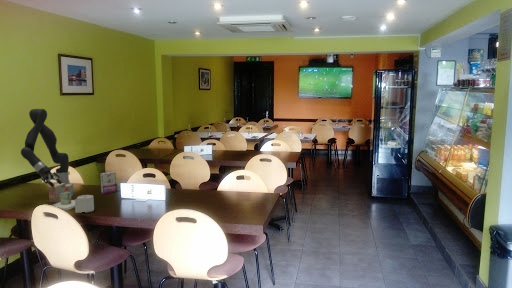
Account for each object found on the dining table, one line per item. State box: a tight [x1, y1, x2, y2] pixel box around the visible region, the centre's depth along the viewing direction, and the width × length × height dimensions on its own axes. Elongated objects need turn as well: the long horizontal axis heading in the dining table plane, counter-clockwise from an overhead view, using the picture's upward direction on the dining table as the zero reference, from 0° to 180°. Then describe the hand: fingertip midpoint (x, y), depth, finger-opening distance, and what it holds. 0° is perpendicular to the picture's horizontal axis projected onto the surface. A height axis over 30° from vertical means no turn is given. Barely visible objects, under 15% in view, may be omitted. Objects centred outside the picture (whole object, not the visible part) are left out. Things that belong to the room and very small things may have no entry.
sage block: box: [60, 192, 72, 205], centre depth 307 cm, size 5×5×8 cm
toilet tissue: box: [74, 194, 95, 214], centre depth 293 cm, size 11×12×10 cm
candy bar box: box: [99, 171, 117, 194], centre depth 347 cm, size 11×5×16 cm, turn 129°
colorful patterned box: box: [47, 182, 75, 203], centre depth 328 cm, size 21×6×12 cm, turn 169°
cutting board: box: [53, 199, 75, 211], centre depth 307 cm, size 20×16×2 cm
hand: (57, 184), depth 307 cm, fingers open, 8 cm apart
